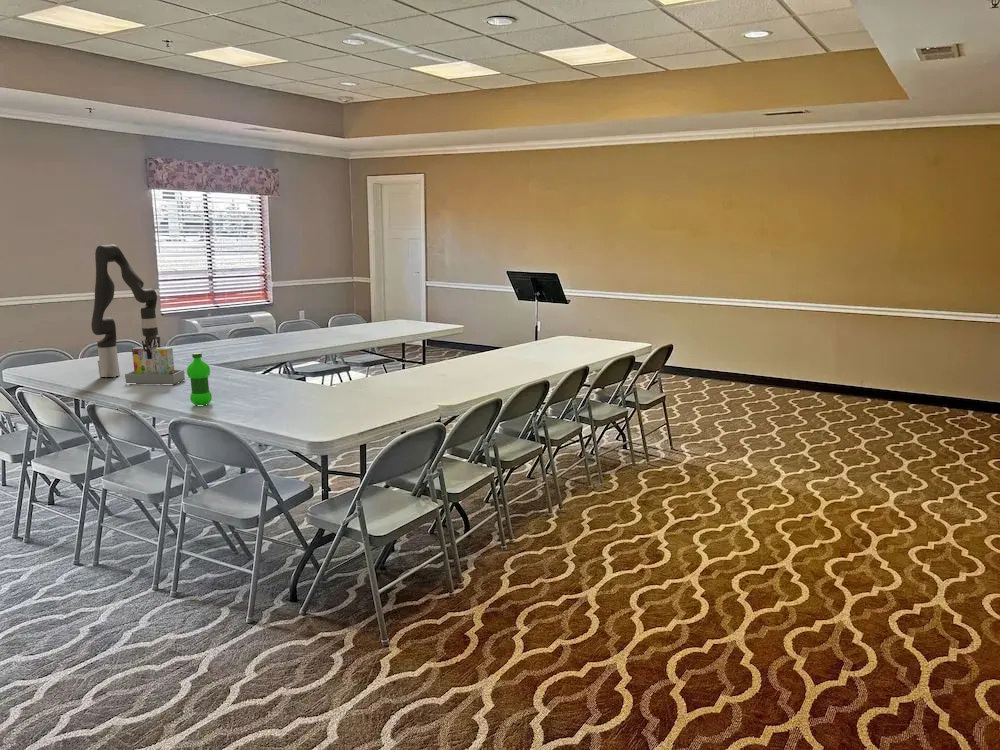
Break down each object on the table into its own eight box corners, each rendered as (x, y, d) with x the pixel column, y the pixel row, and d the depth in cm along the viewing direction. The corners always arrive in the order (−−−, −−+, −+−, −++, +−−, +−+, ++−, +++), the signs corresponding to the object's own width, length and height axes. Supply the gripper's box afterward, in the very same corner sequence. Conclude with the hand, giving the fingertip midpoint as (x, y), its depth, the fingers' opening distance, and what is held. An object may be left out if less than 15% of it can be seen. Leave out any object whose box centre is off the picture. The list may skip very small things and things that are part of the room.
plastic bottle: (194, 402, 356) (188, 351, 350) (216, 402, 356) (211, 351, 351) (186, 408, 346) (181, 355, 341) (209, 407, 347) (204, 355, 341)
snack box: (175, 374, 398) (172, 347, 395) (169, 377, 393) (166, 349, 390) (140, 373, 402) (137, 346, 399) (134, 375, 397) (130, 348, 394)
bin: (126, 384, 394) (124, 374, 393) (138, 379, 405) (137, 369, 404) (174, 385, 392) (173, 374, 391) (185, 380, 403) (183, 370, 402)
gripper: (149, 328, 385) (152, 360, 388) (163, 324, 399) (166, 355, 402) (135, 328, 385) (138, 360, 389) (150, 324, 399) (153, 355, 403)
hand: (153, 357), depth 396 cm, fingers closed on snack box, 6 cm apart
